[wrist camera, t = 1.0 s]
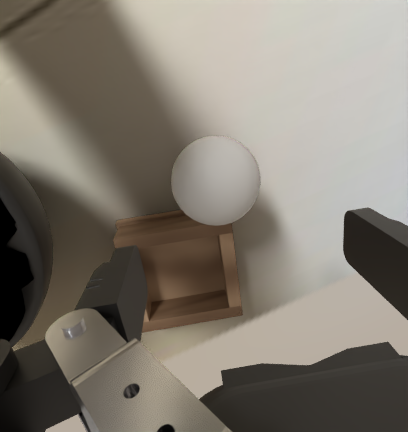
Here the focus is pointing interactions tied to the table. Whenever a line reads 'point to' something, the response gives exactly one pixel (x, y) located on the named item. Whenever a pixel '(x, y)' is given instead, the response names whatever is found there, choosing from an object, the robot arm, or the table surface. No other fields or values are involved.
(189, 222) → the wooden tray
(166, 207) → the table surface
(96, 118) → the table surface
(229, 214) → the lightbulb
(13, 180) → the coal bowl
